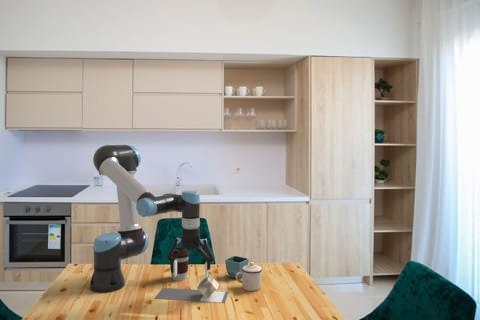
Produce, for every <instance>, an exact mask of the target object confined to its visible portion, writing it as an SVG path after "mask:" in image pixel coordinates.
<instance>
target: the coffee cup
mask: <svg viewBox="0 0 480 320" xmlns="http://www.w3.org/2000/svg"><path fill="white" fill-rule="evenodd" d="M181 247H182V246H179V247H178V246H177V247H176V249H175V251H174V253H173V255H172V257H174V256H175V254H176V253H177V252H178V251H179V250H180V249H181ZM169 253H170V251H169V252H168V254H169ZM190 255H191V252H190V250H189V249H186V248H184V250H183V251H182V252H181V253H180V254H179V255H178V256H177V258H176V259H175V260H177V275H176V277H174V268H172V267H171V260H169V267H170V277H171V280H172V281H175V282H180V281H181V282H182V281H185V280H187V279H188V271H189V263H190V262H189V260H190V259H189V257H190Z"/></svg>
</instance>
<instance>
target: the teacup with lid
mask: <svg viewBox="0 0 480 320" xmlns="http://www.w3.org/2000/svg"><path fill="white" fill-rule="evenodd" d="M242 271H243V272H238V273H237V274H236V278H235V279H236V282H238V283H239V284H242V286H241V287H242V289H244V290H245V291H248V292H255V291H259V290H261V289H262V271H263V269H262V267H261V266H259V265H257V264H256V263H255V262H253V261H252V262H250V263H248V265H246V266H244V267H243V268H242ZM239 274H243V277H241V278H242V280H239V279H237V276H238V275H239Z"/></svg>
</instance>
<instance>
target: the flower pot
mask: <svg viewBox="0 0 480 320" xmlns="http://www.w3.org/2000/svg"><path fill="white" fill-rule="evenodd" d="M249 260H250V259H249V258H247V257H243V256H238V255H232V256H230V257H228V258H226V259H225V260H224V262H225V270H226V273H227V275H228V277H230V278H232V279H236V274H237V273H238V272H243V271H242V268H243V267H244V266H246V265H249ZM241 278H243V274H239V275H238V276H237V279H238V280H239V279H241Z"/></svg>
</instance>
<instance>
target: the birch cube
mask: <svg viewBox="0 0 480 320" xmlns="http://www.w3.org/2000/svg"><path fill="white" fill-rule="evenodd" d="M219 285H220V284H219V283H218V281H217V280H216V279H215V278H214V277H213V276H212V274H209V273H208V277H207V278H205V277H204V279H203V280H201V281H200V282H199V284H198V286H197V287H196V290H199V291H200V292H201V293H202V294H203V295H204V297H205V298H206V299H207V298H208V297H209V296H210V295H211V294H213V293H214V292H215V291H218V288H219Z"/></svg>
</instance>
